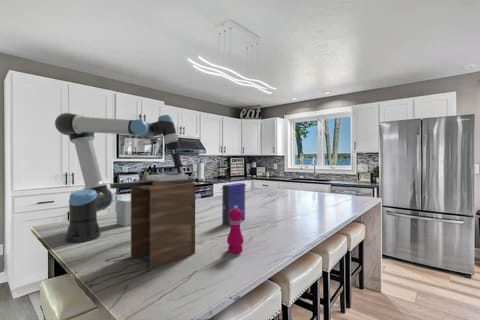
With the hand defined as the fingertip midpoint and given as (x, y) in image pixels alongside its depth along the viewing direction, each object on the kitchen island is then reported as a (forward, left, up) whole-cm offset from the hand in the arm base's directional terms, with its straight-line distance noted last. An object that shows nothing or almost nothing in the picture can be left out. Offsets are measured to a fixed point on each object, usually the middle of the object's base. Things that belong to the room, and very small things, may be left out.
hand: (182, 178), depth 139 cm
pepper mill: (+43, -2, -29) cm, 52 cm away
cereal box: (+10, +32, -29) cm, 44 cm away
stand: (+24, -26, -29) cm, 46 cm away
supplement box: (-34, -16, -29) cm, 47 cm away
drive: (+24, -32, +1) cm, 40 cm away
